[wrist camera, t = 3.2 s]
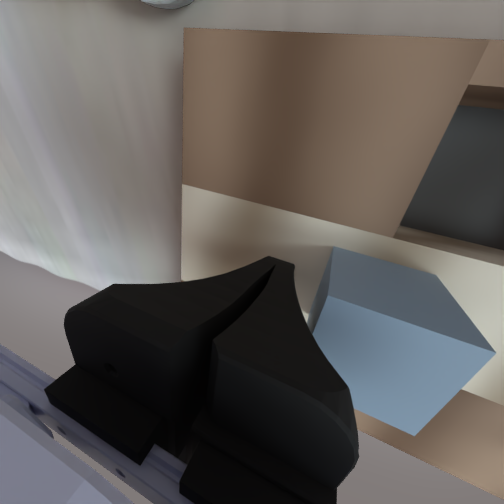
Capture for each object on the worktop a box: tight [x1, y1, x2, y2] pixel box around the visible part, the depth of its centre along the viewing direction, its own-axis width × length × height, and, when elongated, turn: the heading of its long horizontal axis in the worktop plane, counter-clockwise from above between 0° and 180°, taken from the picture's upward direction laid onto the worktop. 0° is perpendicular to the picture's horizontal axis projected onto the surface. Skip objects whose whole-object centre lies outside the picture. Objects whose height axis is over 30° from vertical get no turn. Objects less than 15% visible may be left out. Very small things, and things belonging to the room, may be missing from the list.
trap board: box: [181, 28, 504, 500], centre depth 10 cm, size 22×18×5 cm
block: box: [307, 246, 496, 436], centre depth 8 cm, size 4×4×4 cm
